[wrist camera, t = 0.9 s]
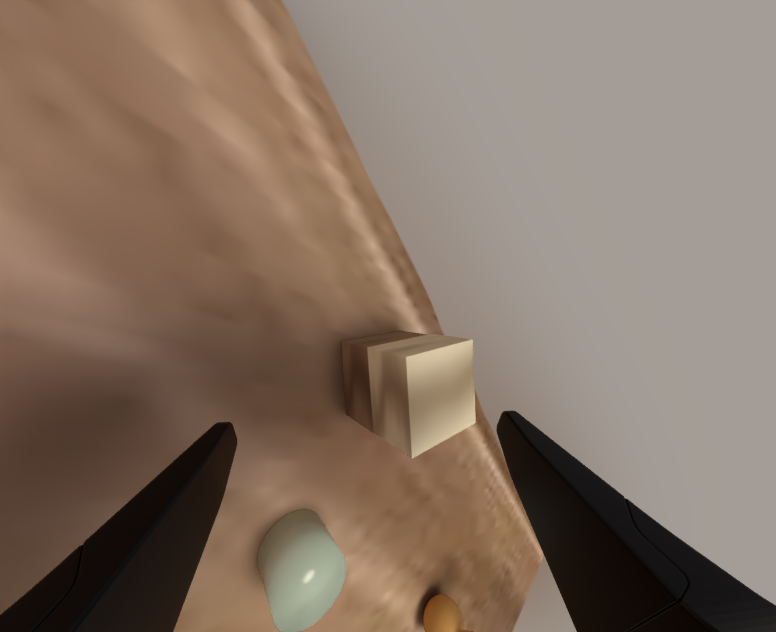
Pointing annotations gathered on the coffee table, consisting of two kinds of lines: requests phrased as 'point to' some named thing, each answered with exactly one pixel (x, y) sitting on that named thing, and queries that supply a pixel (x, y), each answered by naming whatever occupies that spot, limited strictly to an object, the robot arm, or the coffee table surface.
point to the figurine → (443, 615)
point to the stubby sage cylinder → (300, 570)
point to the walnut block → (363, 373)
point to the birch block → (421, 390)
